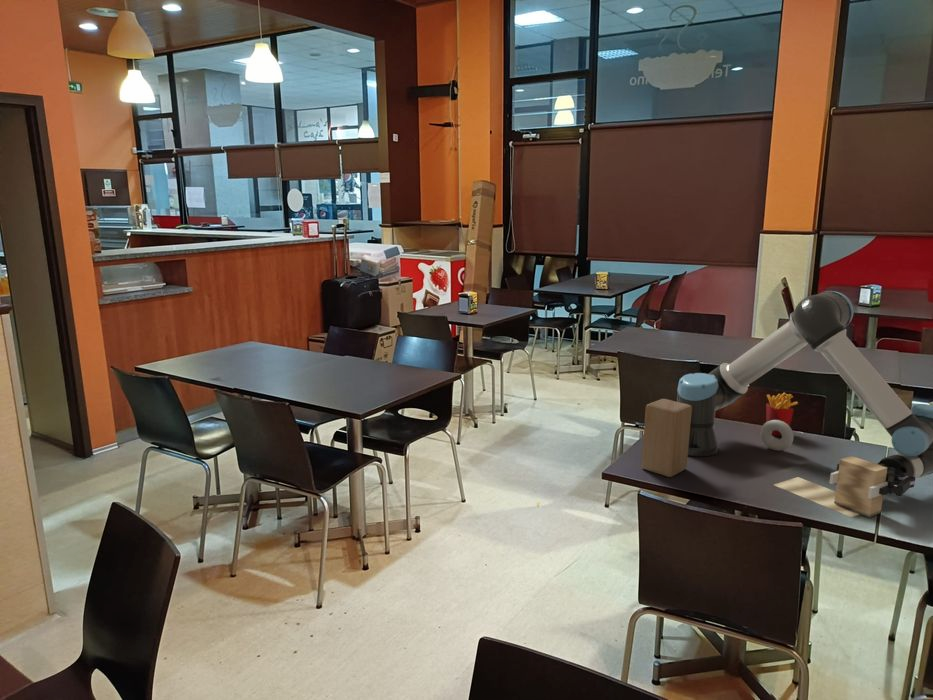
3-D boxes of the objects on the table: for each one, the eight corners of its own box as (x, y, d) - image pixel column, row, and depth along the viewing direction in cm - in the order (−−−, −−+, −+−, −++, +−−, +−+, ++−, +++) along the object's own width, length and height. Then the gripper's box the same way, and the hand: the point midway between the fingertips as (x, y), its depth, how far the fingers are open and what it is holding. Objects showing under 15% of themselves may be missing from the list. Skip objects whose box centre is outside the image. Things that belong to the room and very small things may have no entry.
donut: (756, 447, 218) (760, 418, 216) (760, 444, 221) (763, 415, 218) (789, 455, 212) (793, 425, 210) (793, 452, 214) (796, 422, 212)
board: (772, 489, 187) (773, 484, 186) (797, 481, 192) (797, 476, 192) (850, 522, 168) (851, 517, 168) (875, 512, 174) (876, 507, 173)
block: (639, 468, 200) (644, 403, 196) (657, 460, 207) (662, 397, 202) (670, 479, 193) (676, 411, 189) (687, 469, 200) (693, 404, 195)
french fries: (762, 430, 234) (767, 388, 231) (785, 430, 234) (790, 388, 231) (774, 439, 225) (779, 396, 222) (798, 439, 226) (804, 396, 222)
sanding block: (834, 503, 175) (840, 459, 172) (845, 499, 177) (851, 455, 175) (869, 517, 167) (876, 471, 165) (880, 512, 170) (887, 467, 167)
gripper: (942, 497, 171) (893, 517, 160) (857, 467, 190) (807, 483, 178) (947, 469, 170) (898, 487, 158) (860, 442, 188) (811, 457, 177)
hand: (850, 485), depth 168 cm, fingers closed on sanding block, 9 cm apart
